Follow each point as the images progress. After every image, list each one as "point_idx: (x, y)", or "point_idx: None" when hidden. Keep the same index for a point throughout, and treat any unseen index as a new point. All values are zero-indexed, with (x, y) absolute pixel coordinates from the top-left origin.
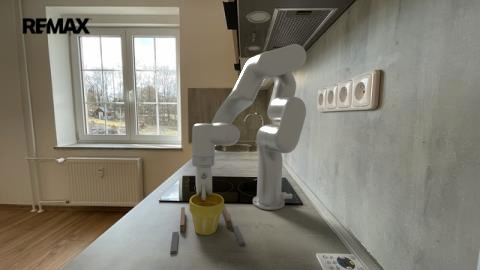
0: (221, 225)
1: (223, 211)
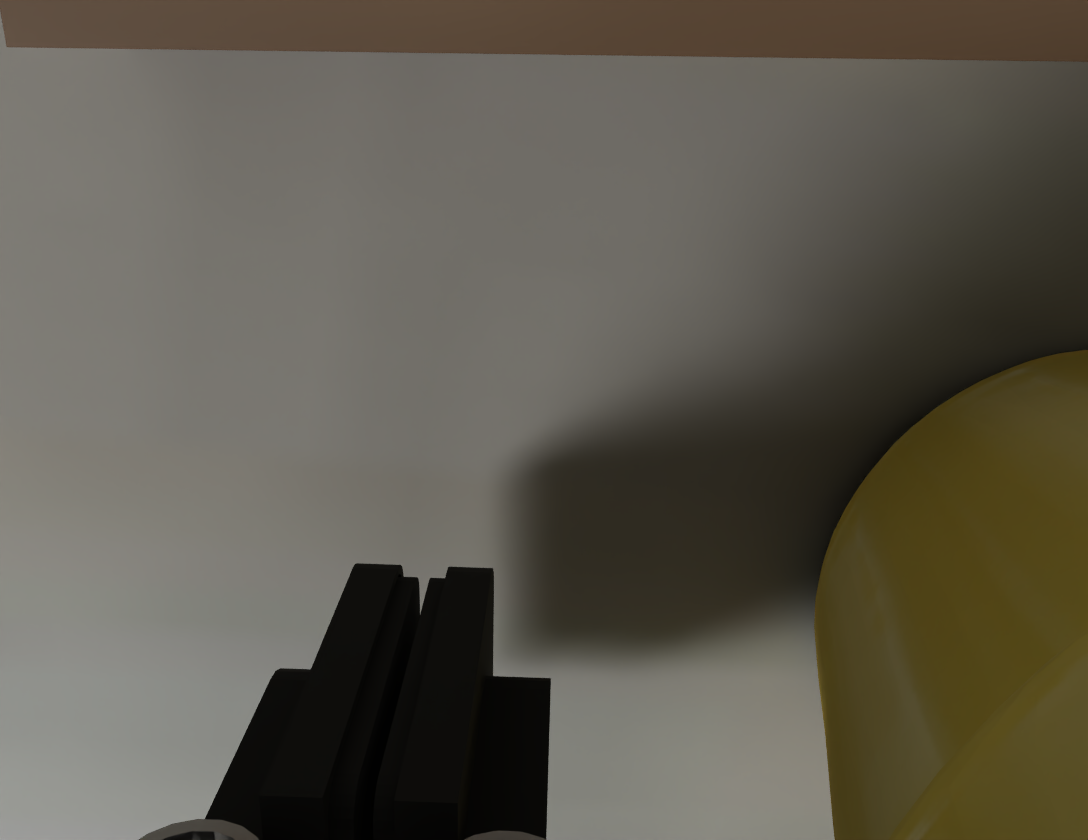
0: (1011, 188)
1: (563, 53)
